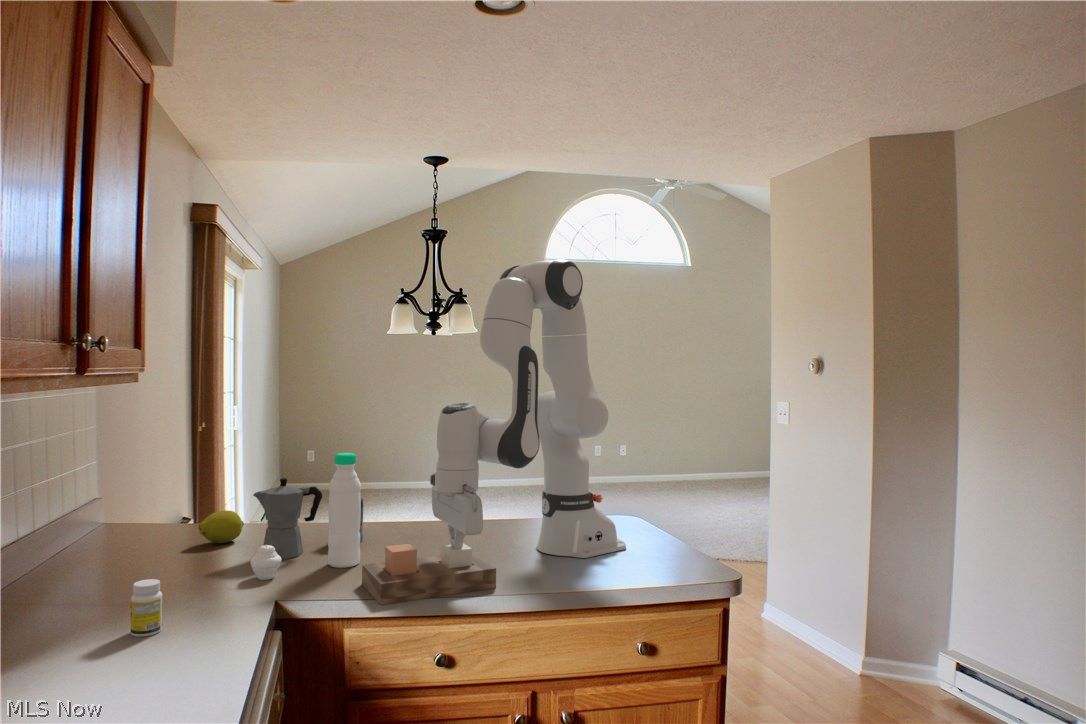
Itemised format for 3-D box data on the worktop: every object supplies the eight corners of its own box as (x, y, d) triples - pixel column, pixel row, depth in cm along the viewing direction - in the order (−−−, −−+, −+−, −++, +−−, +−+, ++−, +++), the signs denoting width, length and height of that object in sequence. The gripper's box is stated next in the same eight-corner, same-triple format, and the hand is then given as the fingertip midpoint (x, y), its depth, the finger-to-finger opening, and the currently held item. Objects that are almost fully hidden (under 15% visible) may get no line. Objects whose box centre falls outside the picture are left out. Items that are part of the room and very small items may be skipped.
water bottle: (351, 569, 160) (352, 456, 160) (321, 567, 161) (323, 454, 161) (365, 560, 167) (366, 452, 167) (336, 558, 168) (338, 451, 168)
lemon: (240, 536, 187) (240, 505, 187) (248, 543, 180) (248, 511, 180) (194, 542, 180) (194, 510, 180) (201, 549, 174) (201, 516, 174)
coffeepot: (252, 562, 164) (253, 482, 164) (252, 551, 173) (253, 476, 173) (323, 556, 170) (324, 479, 170) (319, 546, 179) (320, 473, 179)
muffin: (285, 578, 153) (286, 545, 153) (256, 584, 149) (256, 550, 149) (274, 571, 158) (275, 539, 158) (245, 576, 154) (246, 543, 154)
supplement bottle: (138, 627, 125) (139, 578, 125) (167, 626, 125) (167, 578, 125) (124, 637, 120) (125, 587, 120) (154, 637, 120) (155, 586, 120)
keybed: (469, 569, 161) (470, 551, 161) (495, 587, 149) (496, 568, 149) (361, 584, 150) (362, 564, 150) (380, 605, 138) (380, 584, 138)
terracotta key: (408, 567, 150) (409, 543, 150) (416, 574, 146) (416, 549, 145) (384, 570, 148) (385, 546, 148) (392, 577, 143) (392, 552, 143)
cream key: (462, 566, 156) (463, 543, 156) (471, 572, 151) (472, 548, 151) (440, 569, 153) (441, 545, 153) (449, 575, 149) (449, 551, 149)
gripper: (491, 488, 144) (490, 557, 144) (453, 473, 162) (452, 534, 163) (461, 490, 141) (460, 561, 142) (427, 475, 159) (426, 537, 160)
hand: (456, 547), depth 152 cm, fingers closed, pressing on cream key
